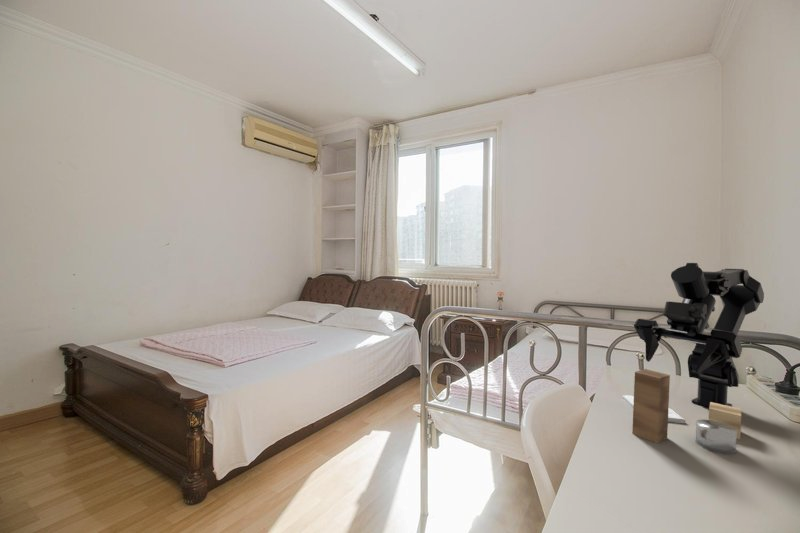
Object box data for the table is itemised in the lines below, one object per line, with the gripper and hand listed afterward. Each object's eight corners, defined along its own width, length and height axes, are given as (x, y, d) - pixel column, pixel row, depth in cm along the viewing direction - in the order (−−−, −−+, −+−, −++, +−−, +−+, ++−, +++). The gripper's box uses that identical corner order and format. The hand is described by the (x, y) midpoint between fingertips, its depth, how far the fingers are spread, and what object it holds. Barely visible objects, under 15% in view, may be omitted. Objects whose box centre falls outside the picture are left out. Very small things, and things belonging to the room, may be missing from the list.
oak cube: (709, 423, 80) (710, 401, 80) (739, 431, 76) (741, 408, 76) (708, 431, 76) (709, 408, 76) (740, 439, 73) (741, 415, 73)
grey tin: (702, 436, 74) (703, 417, 74) (740, 449, 69) (741, 429, 69) (690, 443, 71) (690, 423, 71) (729, 458, 66) (730, 437, 66)
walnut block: (642, 428, 76) (645, 368, 76) (667, 437, 73) (669, 375, 72) (632, 433, 74) (634, 371, 74) (656, 443, 70) (659, 378, 70)
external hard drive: (657, 404, 92) (685, 425, 79) (622, 400, 93) (644, 421, 81) (657, 397, 92) (685, 418, 79) (622, 394, 93) (645, 414, 81)
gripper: (639, 285, 88) (613, 334, 82) (739, 293, 72) (716, 353, 66) (652, 315, 92) (629, 363, 87) (750, 328, 76) (729, 387, 71)
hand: (670, 365), depth 77 cm, fingers open, 9 cm apart
